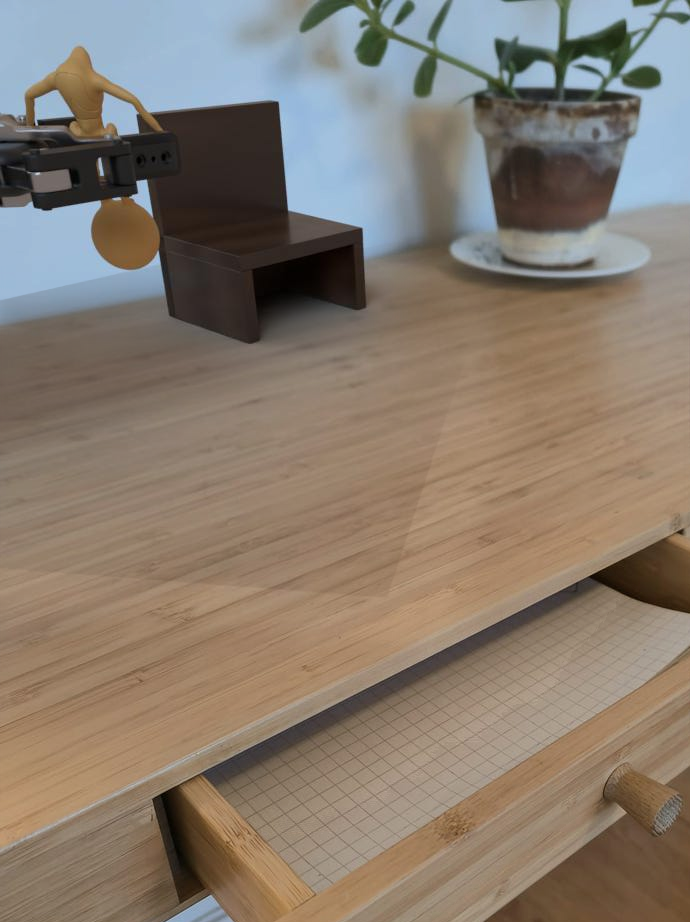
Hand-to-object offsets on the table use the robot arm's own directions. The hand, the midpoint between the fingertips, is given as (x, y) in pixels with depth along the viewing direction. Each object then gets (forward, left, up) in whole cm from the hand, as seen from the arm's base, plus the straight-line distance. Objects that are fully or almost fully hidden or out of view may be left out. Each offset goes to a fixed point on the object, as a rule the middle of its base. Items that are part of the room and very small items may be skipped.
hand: (136, 143), depth 56 cm
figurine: (0, -2, -7) cm, 8 cm away
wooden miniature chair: (-15, +21, -17) cm, 31 cm away
